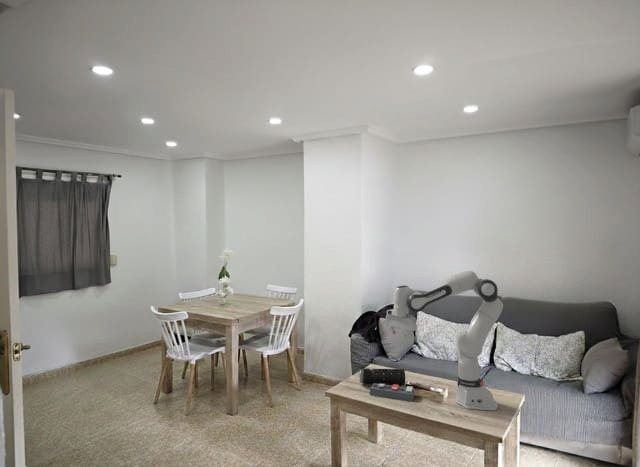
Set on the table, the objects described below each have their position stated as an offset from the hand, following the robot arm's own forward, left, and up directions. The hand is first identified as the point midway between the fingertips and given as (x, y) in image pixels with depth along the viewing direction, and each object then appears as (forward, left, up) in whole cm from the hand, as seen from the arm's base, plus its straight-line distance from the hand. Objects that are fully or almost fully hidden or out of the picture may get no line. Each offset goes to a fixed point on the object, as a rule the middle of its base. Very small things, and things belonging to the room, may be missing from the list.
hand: (400, 335), depth 247 cm
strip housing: (+4, +4, -35) cm, 35 cm away
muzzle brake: (+14, -10, -35) cm, 39 cm away
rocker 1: (+11, +4, -30) cm, 32 cm away
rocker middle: (+2, +4, -30) cm, 30 cm away
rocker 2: (-6, +4, -30) cm, 31 cm away
